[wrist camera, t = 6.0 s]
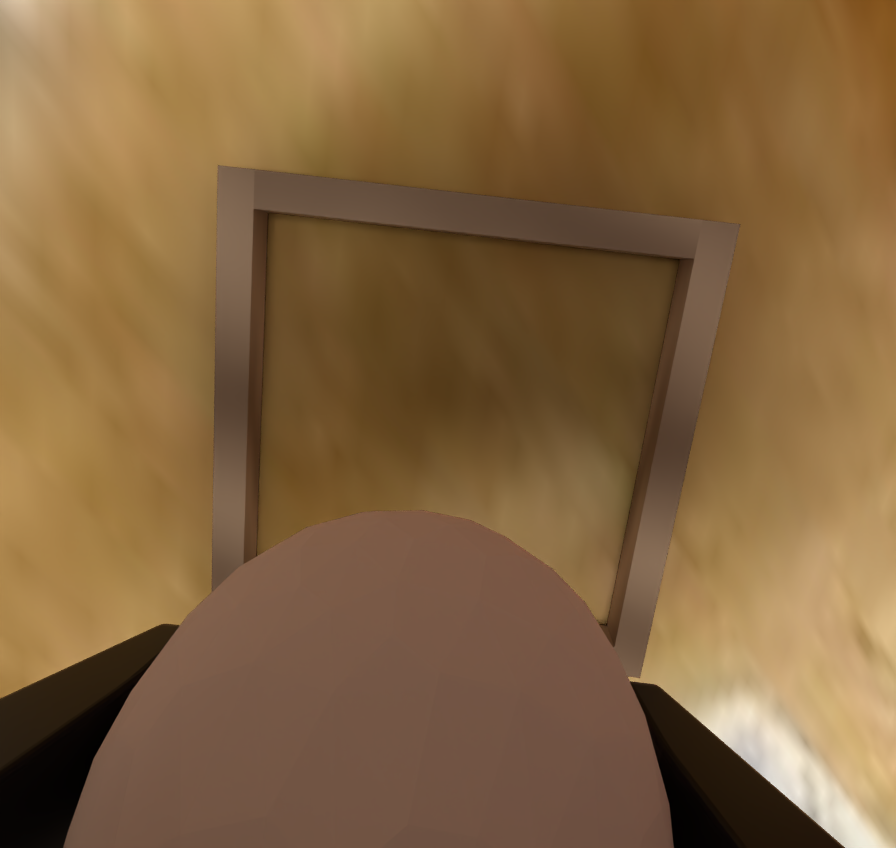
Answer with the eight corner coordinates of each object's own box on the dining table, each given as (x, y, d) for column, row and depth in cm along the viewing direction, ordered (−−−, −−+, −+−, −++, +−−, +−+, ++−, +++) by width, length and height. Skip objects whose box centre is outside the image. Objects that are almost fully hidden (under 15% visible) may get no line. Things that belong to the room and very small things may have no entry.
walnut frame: (630, 655, 21) (639, 677, 20) (225, 604, 21) (211, 624, 20) (723, 226, 17) (739, 224, 16) (234, 172, 18) (217, 165, 16)
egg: (386, 799, 10) (197, 1931, 3) (180, 565, 10) (-692, 1451, 2) (657, 645, 10) (1203, 1775, 2) (459, 369, 9) (380, 871, 1)
